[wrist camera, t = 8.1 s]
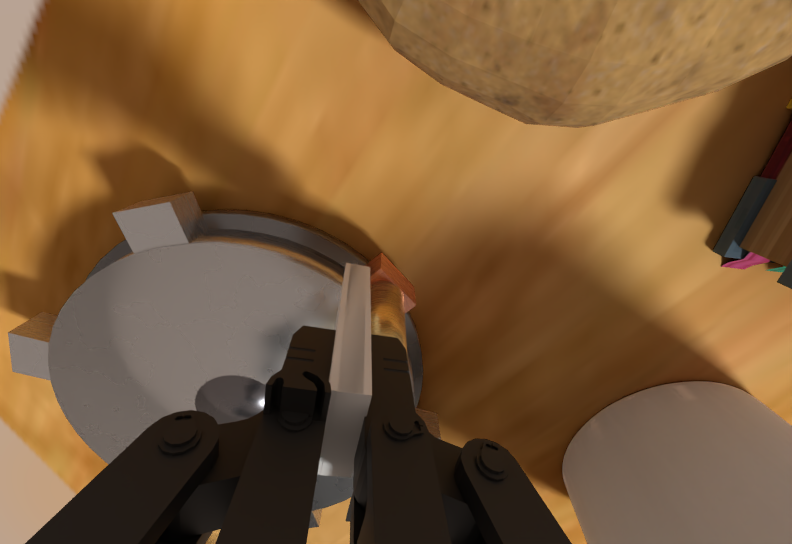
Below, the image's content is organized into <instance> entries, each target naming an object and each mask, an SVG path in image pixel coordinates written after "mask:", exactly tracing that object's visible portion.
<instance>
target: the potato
mask: <svg viewBox="0 0 792 544" xmlns="http://www.w3.org/2000/svg"><path fill="white" fill-rule="evenodd" d="M358 1H359V2H360V4H361V5H362V7H363V8H364V9H365V11H366V12H367V13H368V15H369V16H370V17H371V19H372V20H373V21H374V23H375V24H376V26H377V27H378V28H379V30H380V31H381V32H382V34H383V35H384V36H385V38H386V39H387V40H388V42H389V43H390V45H391V46H392V47H393V49H394V50H395V51H397V52H398V53H399V54H401V55H402V56H403V57H405V58H406V59H408V60H409V61H410V62H412V63H413V64H414V65H416V66H417V67H418V68H420V69H421V70H423V71H424V72H425V73H427V74H428V75H429V76H431V77H432V78H433V79H435V80H436V81H438V82H439V83H440V84H442V85H444V86H446V87H448V88H450V89H452V90H455V91H457V92H459V93H461V94H463V95H465V96H467V97H469V98H471V99H474V100H476V101H478V102H480V103H482V104H484V105H486V106H488V107H490V108H492V109H495V110H497V111H499V112H501V113H503V114H505V115H508V116H510V117H512V118H514V119H516V120H518V121H521V122H523V123H525V124H534V125H548V126H561V127H574V128H580V127H587V126H594V125H598V124H601V123H605V122H609V121H613V120H616V119H620V118H624V117H627V116H631V115H635V114H638V113H642V112H646V111H649V110H653V109H657V108H660V107H664V106H667V105H671V104H674V103H678V102H681V101H685V100H688V99H692V98H695V97H699V96H702V95H706V94H709V93H713V92H716V91H719V90H721V89H723V88H725V87H728V86H730V85H732V84H734V83H737V82H739V81H741V80H743V79H745V78H748V77H750V76H752V75H754V74H756V73H759V72H761V71H763V70H765V69H767V68H770V67H772V66H774V65H776V64H778V63H781V62H783V61H785V60H787V59H788V58H790V57H791V56H792V0H358Z"/></svg>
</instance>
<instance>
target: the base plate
mask: <svg viewBox="0 0 792 544" xmlns="http://www.w3.org/2000/svg"><path fill="white" fill-rule="evenodd" d="M201 212H202V214H203V217H204V219H205V221H206V224H207V226H208V228H209V229H237V230H244V231H252V232H259V233H265V234H268V235H272V236H276V237H280V238H284V239H288V240H291V241H293V242H296V243H299V244H301V245H304V246H306V247H309V248H312V249H314V250H316V251H317V252H319V253H321V254H323V255H325V256H327V257H329V258H331V259H333V260H335V261H336V262H338V263H339V264H341V265H342V266H344V267H345V266H346V263H350V264H356V265H362V266H365V265H366V264H368V263H369V261H368V260H367V259H366V258H365V257H364V256H362V255H361V254H359V253H358V252H357V251H355V250H354V249H353V248H351V247H350V246H348V245H347V244H346V243H344V242H342V241H340V240H338V239H336V238H335V237H333V236H331V235H329V234H327V233H326V232H324V231H322V230H319V229H317V228H314V227H312V226H309V225H307V224H304V223H302V222H299V221H296V220H292V219H289V218H285V217H281V216H278V215H274V214H269V213H262V212H255V211H248V210H210V211H201ZM131 252H132V249H131V247H130V245H129V244H128V242H127V240H124V241H123V242H121V243H119V244H118V245H116V246H115V247H114V248H113V249H112V250H111V251H110V252H109V253H107V254H106V255H105V256H104V257H103V258H102V259H101V260H100V261H99V262H98V264H97V265H96V266H95V267H94V269H93V270H92V271H91V273H90V274H89V275H88V277H87V279H88V278H90V277H91V276H93V275H94V274H96V273H97V272H99V271H101V270H102V269H104V268H105V267H107V266H109V265H110V264H112V263H114V262H115V261H117V260H119V259H120V258H122V257H124V256H126V255H127V254H129V253H131ZM87 279H86V280H87ZM405 326H406V342H407V346H408V349H409V353H410V356H411V363H412V372H413V383H414V395H415V408H416V407H417V405H418V401H419V397H420V393H421V389H422V379H423V365H422V354H421V346H420V341H419V337H418V334H417V330H416V326H415V324H414V322H413V319H412V317H411V315H410V312H409V311H408V312H406V313H405Z"/></svg>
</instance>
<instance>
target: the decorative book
mask: <svg viewBox="0 0 792 544" xmlns="http://www.w3.org/2000/svg"><path fill="white" fill-rule="evenodd" d="M786 108H787V109H792V98H791V100H790V101H789V103H788V105H787V107H786ZM713 252H715V253H717V254H719V255H721V256H723V257H729V258H738V259H742V260H737V261H733V262H729V263H726V264H724V265H722V266H721V267H730V268H738V269H746V268H748V267H750V266H752V265H757V264H762V263H767V262H772V263H778V264H780V265H783V267H779V268H774V269H769V270H767V271H776V272H783V273H782V275H781V276H780V278H779V279H778V281H777V282H778V283H780V284H782V285H784V286H786V287H789V288H791V289H792V120H791V122H790V124H789V126H788V127H787V129H786V131H785V133H784V135H783V136H782V138H781V140H780V142H779V144H778V146H777V147H776V149H775V151H774V153H773V155H772V156H771V158H770V160H769V162H768V164H767V166H766V167H765V169H764V171H763V173H762V175H761V176H760V177H758V176H754V177H753V179H752V181H751V183H750V185H749V186H748V188H747V190H746V192H745V194H744V195H743V197H742V199H741V201H740V203H739V204H738V206H737V208H736V210H735V212H734V214H733V215H732V217H731V219H730V221H729V223H728V224H727V226H726V228H725V230H724V232H723V233H722V235H721V237H720V239H719V241H718V242H717V244H716V246H715V248H714V250H713Z"/></svg>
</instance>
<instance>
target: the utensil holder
mask: <svg viewBox="0 0 792 544" xmlns="http://www.w3.org/2000/svg"><path fill="white" fill-rule="evenodd" d="M562 474H563V480H564V483H565V486H566V489H567V492H568V494H569V497H570V500H571V503H572V505H573V508H574V510H575V513H576V515H577V518H578V520H579V523H580V526H581V528H582V531H583V533H584V536H585V539H586V541H587V544H792V426H791V425H790V424H789V423H787V422H786V421H785V420H783V419H782V418H781V417H780V416H778V415H777V414H776V413H774V412H773V411H772V410H771V409H769V408H768V407H767V406H766V405H764V404H763V403H762V402H760V401H759V400H758V399H756V398H755V397H753V396H752V395H750V394H748V393H747V392H745V391H743V390H741V389H738V388H736V387H733V386H730V385H726V384H722V383H716V382H707V381H689V382H679V383H671V384H665V385H660V386H656V387H652V388H649V389H645V390H642V391H640V392H637V393H634V394H632V395H629V396H627V397H624V398H623V399H621V400H619V401H617V402H615V403H613V404H611V405H609V406H608V407H606V408H604V409H603V410H601V411H600V412H599V413H598V414H596V415H595V416H594V417H592V418H591V419H590V420H589V421H588V422H587V423H586V424H585V425H584V426H583V427H582V428H581V429H580V430H579V431H578V432H577V434H576V435H575V436H574V437H573V439H572V441H571V442H570V444H569V446H568V448H567V450H566V452H565V455H564V459H563V465H562Z"/></svg>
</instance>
